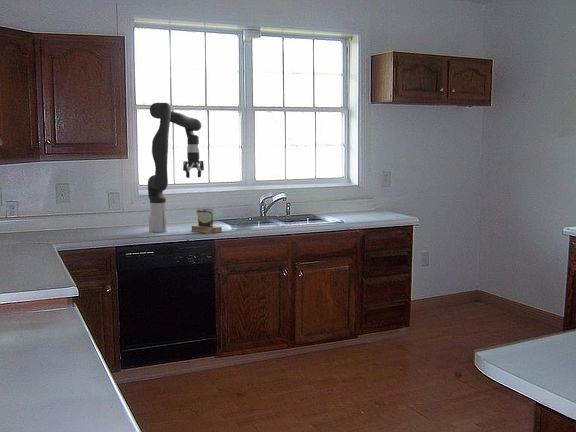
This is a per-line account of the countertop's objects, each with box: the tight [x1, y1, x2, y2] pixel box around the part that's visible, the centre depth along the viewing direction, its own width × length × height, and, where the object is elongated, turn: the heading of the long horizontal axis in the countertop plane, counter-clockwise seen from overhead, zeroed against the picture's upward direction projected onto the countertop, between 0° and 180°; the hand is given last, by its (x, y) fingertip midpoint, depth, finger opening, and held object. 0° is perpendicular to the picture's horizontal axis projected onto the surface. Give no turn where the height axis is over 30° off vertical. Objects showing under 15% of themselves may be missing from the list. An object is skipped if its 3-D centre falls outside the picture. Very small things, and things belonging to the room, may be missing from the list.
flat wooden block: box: [191, 224, 223, 235], centre depth 374 cm, size 10×16×3 cm, turn 45°
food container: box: [196, 208, 215, 227], centre depth 374 cm, size 12×6×10 cm, turn 57°
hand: (193, 177), depth 397 cm, fingers open, 8 cm apart
